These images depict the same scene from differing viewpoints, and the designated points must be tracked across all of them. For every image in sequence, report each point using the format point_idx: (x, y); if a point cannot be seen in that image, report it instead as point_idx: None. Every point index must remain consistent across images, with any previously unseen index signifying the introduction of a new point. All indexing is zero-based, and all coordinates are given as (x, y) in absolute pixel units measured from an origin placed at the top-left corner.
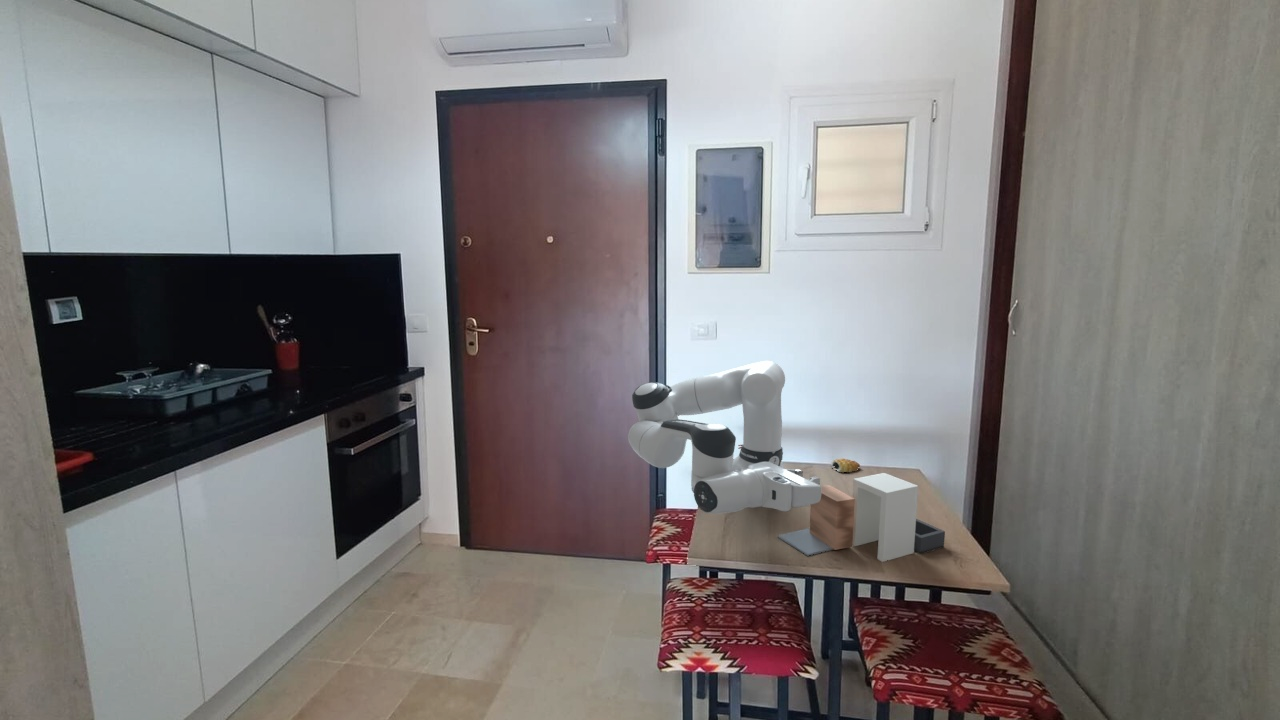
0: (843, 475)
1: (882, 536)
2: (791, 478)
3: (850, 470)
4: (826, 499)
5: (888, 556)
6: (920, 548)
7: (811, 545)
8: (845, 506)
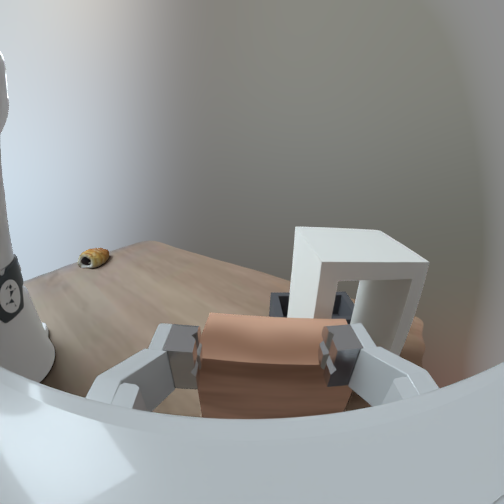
0: (100, 270)
1: None
2: (462, 496)
3: (103, 260)
4: (297, 375)
5: None
6: None
7: None
8: None
